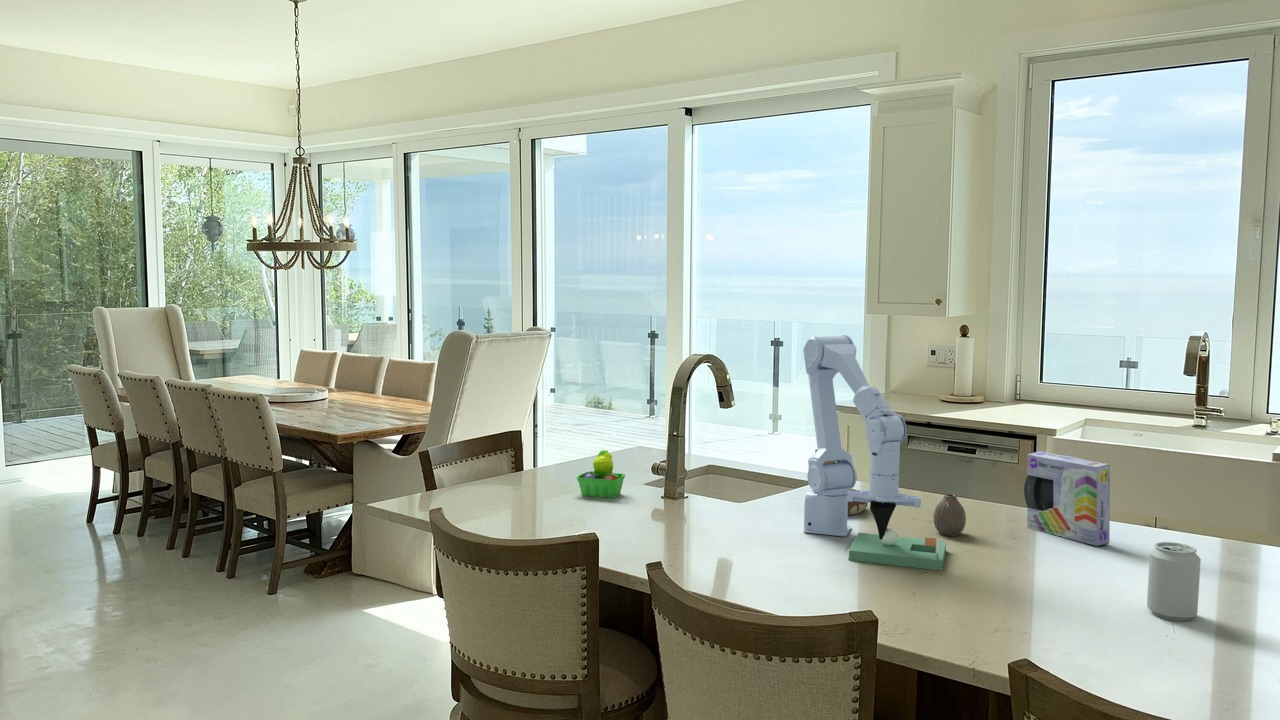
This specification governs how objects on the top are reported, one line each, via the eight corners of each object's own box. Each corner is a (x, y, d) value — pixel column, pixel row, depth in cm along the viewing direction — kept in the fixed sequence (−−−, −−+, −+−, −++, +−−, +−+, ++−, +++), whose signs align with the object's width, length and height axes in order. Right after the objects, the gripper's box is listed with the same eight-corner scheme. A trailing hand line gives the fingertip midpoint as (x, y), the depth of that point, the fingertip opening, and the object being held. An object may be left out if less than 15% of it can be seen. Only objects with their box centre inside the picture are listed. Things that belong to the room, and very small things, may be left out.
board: (848, 559, 188) (849, 550, 187) (858, 541, 201) (858, 532, 200) (941, 570, 181) (942, 560, 181) (945, 550, 194) (946, 541, 194)
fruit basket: (575, 496, 241) (575, 453, 239) (587, 489, 249) (587, 447, 248) (617, 499, 237) (617, 456, 236) (627, 492, 246) (627, 450, 245)
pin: (924, 567, 183) (925, 537, 182) (924, 566, 184) (925, 536, 183) (938, 569, 182) (939, 539, 181) (938, 568, 183) (939, 538, 182)
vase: (967, 538, 203) (968, 499, 202) (934, 536, 205) (936, 498, 204) (963, 530, 210) (964, 492, 209) (931, 528, 211) (932, 490, 210)
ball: (877, 532, 190) (894, 529, 189) (880, 527, 193) (896, 525, 192) (882, 549, 190) (899, 546, 189) (884, 544, 193) (901, 541, 192)
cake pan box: (1020, 526, 213) (1024, 450, 212) (1035, 523, 216) (1039, 449, 214) (1095, 548, 196) (1099, 466, 195) (1110, 545, 199) (1115, 464, 197)
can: (1137, 607, 162) (1140, 540, 161) (1177, 606, 162) (1181, 539, 161) (1164, 623, 154) (1169, 553, 153) (1207, 622, 155) (1211, 552, 154)
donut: (869, 518, 220) (870, 498, 220) (811, 516, 222) (811, 495, 222) (864, 504, 234) (865, 484, 234) (809, 501, 236) (810, 482, 236)
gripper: (845, 474, 189) (844, 539, 190) (919, 480, 184) (917, 547, 185) (851, 467, 196) (849, 530, 197) (922, 473, 191) (920, 538, 192)
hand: (882, 538), depth 192 cm, fingers closed, pressing on ball
